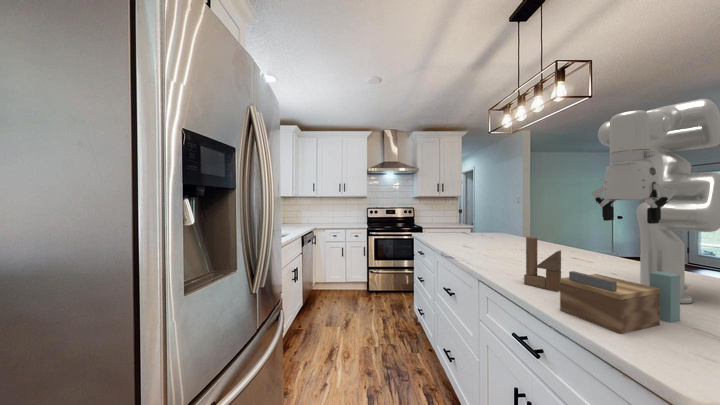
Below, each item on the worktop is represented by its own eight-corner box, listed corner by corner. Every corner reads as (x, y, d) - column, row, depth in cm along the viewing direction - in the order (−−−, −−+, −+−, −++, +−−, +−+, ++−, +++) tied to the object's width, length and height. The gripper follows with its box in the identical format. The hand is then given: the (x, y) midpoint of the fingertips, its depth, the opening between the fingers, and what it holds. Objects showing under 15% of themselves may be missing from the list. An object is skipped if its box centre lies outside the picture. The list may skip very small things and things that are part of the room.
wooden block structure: (557, 292, 91) (557, 240, 90) (523, 284, 99) (523, 236, 99) (561, 290, 93) (561, 239, 93) (528, 282, 101) (528, 236, 101)
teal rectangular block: (659, 314, 73) (659, 271, 73) (679, 320, 69) (680, 275, 69) (649, 316, 72) (649, 272, 72) (670, 322, 68) (670, 276, 68)
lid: (596, 277, 80) (596, 266, 80) (659, 293, 66) (659, 279, 66) (560, 282, 75) (560, 270, 75) (620, 300, 62) (620, 284, 62)
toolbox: (596, 304, 80) (596, 278, 80) (659, 325, 66) (659, 293, 66) (560, 310, 76) (560, 282, 75) (620, 333, 62) (620, 300, 62)
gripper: (684, 153, 63) (684, 223, 64) (602, 163, 80) (602, 218, 80) (663, 153, 61) (664, 225, 62) (583, 162, 78) (584, 220, 78)
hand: (629, 221), depth 71 cm, fingers open, 9 cm apart
